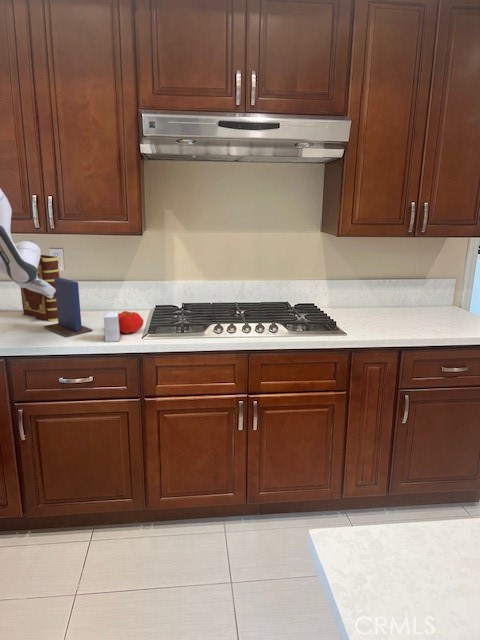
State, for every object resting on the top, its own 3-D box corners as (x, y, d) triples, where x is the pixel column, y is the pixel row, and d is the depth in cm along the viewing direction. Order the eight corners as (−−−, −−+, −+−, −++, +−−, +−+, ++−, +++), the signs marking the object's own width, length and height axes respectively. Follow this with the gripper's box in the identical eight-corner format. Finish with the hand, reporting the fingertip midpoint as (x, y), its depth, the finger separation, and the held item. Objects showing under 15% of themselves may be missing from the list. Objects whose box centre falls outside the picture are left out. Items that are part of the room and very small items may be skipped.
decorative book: (66, 319, 224) (60, 256, 216) (52, 322, 218) (45, 258, 210) (37, 312, 236) (31, 253, 228) (23, 315, 229) (16, 254, 221)
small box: (119, 341, 191) (117, 316, 189) (105, 342, 190) (103, 317, 188) (120, 335, 199) (118, 312, 196) (106, 336, 198) (104, 312, 195)
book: (75, 331, 201) (71, 283, 195) (58, 324, 210) (54, 278, 205) (81, 329, 203) (78, 282, 197) (64, 323, 212) (60, 277, 207)
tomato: (146, 333, 202) (145, 314, 200) (117, 336, 198) (116, 317, 195) (140, 326, 214) (140, 308, 211) (113, 329, 209) (111, 310, 207)
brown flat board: (66, 337, 195) (66, 335, 195) (44, 328, 208) (43, 326, 208) (92, 332, 204) (92, 329, 204) (69, 323, 217) (68, 321, 217)
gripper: (43, 274, 183) (68, 294, 193) (19, 268, 196) (44, 287, 206) (33, 286, 181) (59, 306, 191) (10, 279, 194) (35, 299, 203)
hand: (51, 296), depth 198 cm, fingers closed
